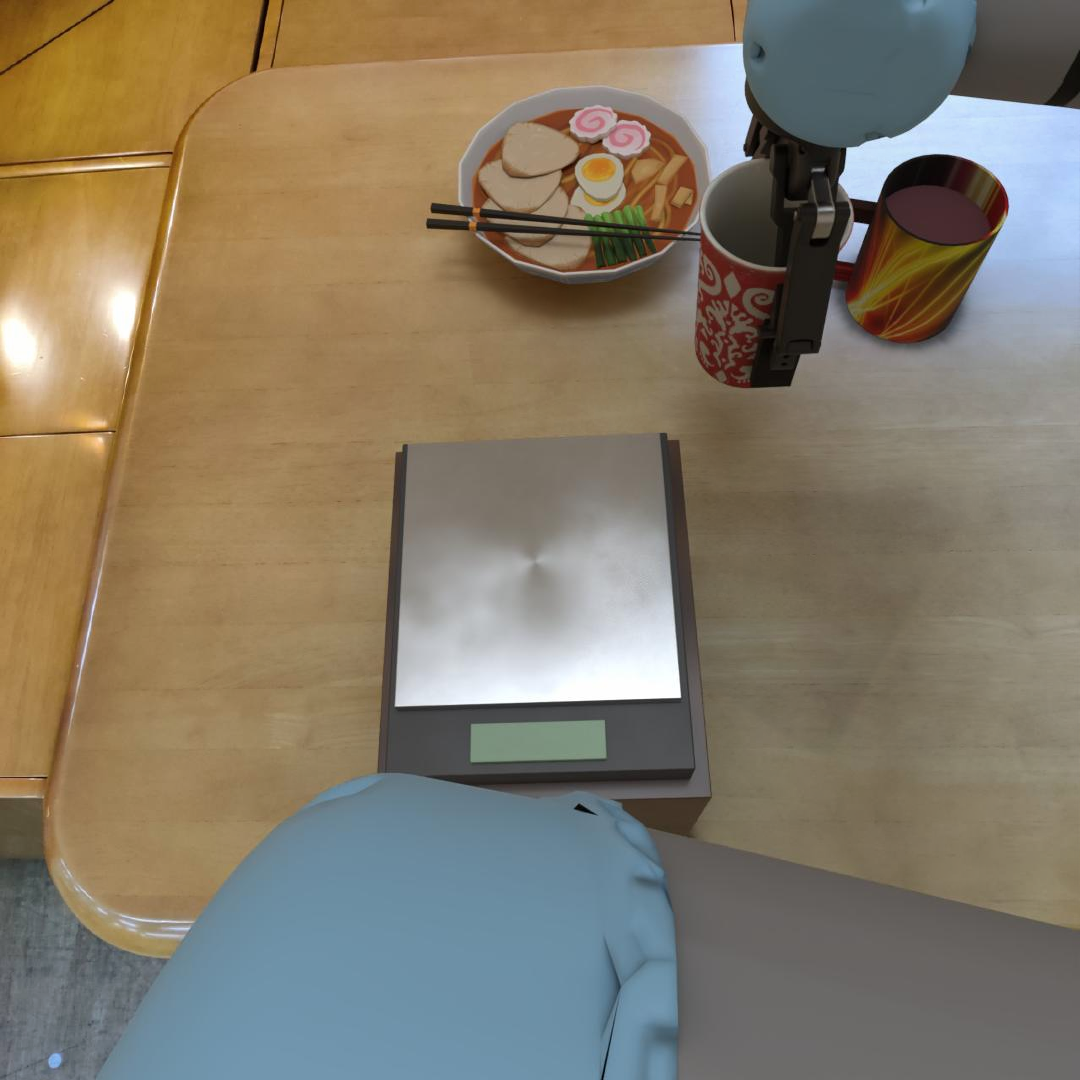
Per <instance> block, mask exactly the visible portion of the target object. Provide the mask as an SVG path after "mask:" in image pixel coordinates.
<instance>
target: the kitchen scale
mask: <svg viewBox="0 0 1080 1080" xmlns="http://www.w3.org/2000/svg"><path fill="white" fill-rule="evenodd" d="M668 440H669V439H668V433H667V432H645V433H624V434H623V433H622V434H621V433H620V434H600V435H577V436H556V437H555V436H554V437H537V438H536V437H534V438H533V437H532V438H512V439H511V438H509V439H490V440H489V439H487V440H467V441H442V442H422V443H421V442H420V443H403V444H402V449H401V452H402V466H401V484H400V503H399V521H398V540H397V558H396V577H395V595H394V614H393V633H392V651H391V670H390V688H389V707H388V725H387V744H386V762H385V773H403V774H411V775H417V776H423V777H428V778H433V779H438V780H443V781H448V782H453V783H458V784H464V785H475V784H512V783H550V782H587V781H624V780H661V779H690V778H691V777H692V775H693V773H694V771H695V768H696V766H695V754H694V743H693V731H692V719H691V707H690V696H689V684H688V672H687V660H686V649H685V637H684V625H683V614H682V602H681V590H680V578H679V567H678V555H677V543H676V531H675V520H674V508H673V496H672V485H671V473H670V461H669V449H668Z"/></svg>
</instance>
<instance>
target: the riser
mask: <svg viewBox="0 0 1080 1080" xmlns="http://www.w3.org/2000/svg"><path fill="white" fill-rule="evenodd" d="M668 449H669V461H670V473H671V485H672V496H673V508H674V520H675V531H676V543H677V555H678V567H679V578H680V590H681V602H682V614H683V625H684V637H685V649H686V660H687V672H688V684H689V696H690V707H691V719H692V731H693V743H694V754H695V766H696V768H695V771H694V773H693V775H692V777H691V778H690V779H661V780H624V781H587V782H550V783H512V784H475V785H469V786H474V787H479V788H484V789H489V790H494V791H499V792H505V793H510V794H515V795H520V796H525V797H530V798H535V799H539V798H542V797H559V796H564V795H567V794H569V793H572V792H575V791H584V792H588V793H591V794H594V795H597V796H601V797H604V798H607V799H610V800H614V801H617V802H620V803H622V809H623V810H624V811H625V812H627V813H628V814H630V815H631V816H632V817H634V818H635V819H637V820H638V821H640V822H641V823H642V824H644V826H645V827H647V828H651V829H655V830H659V831H664V832H668V833H672V834H676V835H680V836H685V837H688V836H689V834H690V832H691V831H692V829H693V827H694V826H695V824H696V822H697V821H698V820H699V818H700V816H701V815H702V813H703V812H704V810H705V809H706V807H707V805H708V804H709V802H710V801H711V799H712V798H713V793H712V783H711V771H710V762H709V751H708V740H707V739H708V737H707V729H706V718H705V717H706V716H705V706H704V696H703V686H702V684H703V683H702V675H701V672H702V671H701V663H700V651H699V643H698V642H699V641H698V630H697V617H696V609H695V608H696V607H695V598H694V597H695V596H694V585H693V576H692V563H691V553H690V544H689V543H690V542H689V531H688V521H687V509H686V500H685V488H684V476H683V465H682V464H683V463H682V455H681V454H682V453H681V444H680V439H668ZM394 457H395V458H394V471H393V472H394V473H393V491H392V506H391V507H392V509H391V524H390V525H391V527H390V545H389V562H388V578H387V579H388V580H387V594H386V613H385V629H384V632H385V633H384V648H383V650H384V651H383V664H382V681H381V682H382V683H381V700H380V701H381V702H380V716H379V717H380V719H379V735H378V736H379V737H378V751H377V770H376V774H378V773H385V762H386V744H387V725H388V707H389V688H390V670H391V651H392V633H393V614H394V595H395V577H396V558H397V540H398V521H399V503H400V484H401V466H402V451H395V456H394Z"/></svg>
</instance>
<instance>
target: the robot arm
mask: <svg viewBox="0 0 1080 1080" xmlns="http://www.w3.org/2000/svg"><path fill="white" fill-rule="evenodd" d="M742 61H743V62H742V63H743V68H744V72H745V81H744V97H745V101H746V104H747V107H748V109H749V111H750V112H751V114H752V116H751V120H750V123H749V126H748V129H747V133H746V136H745V140H744V143H743V145H742V151H743V152H744V157H745V158H751V159H750V160H754V159H759V158H770V163H769V170H770V172H771V174H772V176H773V182H772V195H771V208H770V217H771V218H772V220H773V221H774V223H775V224H776V225H777V226H778V229H777V241H776V253H775V265H774V267H786V273H785V280H784V283H781V284H777V287H776V290H775V293H774V297H773V301H772V304H771V313H770V319H764V323H763V325H757V334H758V338H759V343H758V347H757V351H756V355H755V359H754V363H753V367H752V371H751V375H750V379H749V380H750V388H749V389H764V388H765V389H766V388H767V389H768V388H790V387H792V383H793V379H794V376H795V374H796V370H797V368H798V364H799V361H800V358H801V355H813V354H814V355H817V354H819V353H820V350H821V347H822V339H823V336H824V335H823V334H824V330H825V325H826V320H827V314H828V309H829V304H830V299H831V294H832V288H833V284H834V280H833V279H834V274H835V269H836V263H837V260H838V258H839V254H840V252H839V248H840V243H841V240H842V238H843V235H844V232H845V229H846V226H847V224H848V220H849V218H850V215H851V209H850V204H849V202H848V201H836V200H837V191H838V183H839V181H840V177H841V176H842V175H843V173H844V172H845V168H846V160H847V151H848V150H847V149H849V148H859V147H860V146H863V144H865V143H868V142H871V141H876V140H879V139H883V138H888V139H893V138H896V137H898V136H902V135H903V134H905V133H908V132H910V131H911V130H913V129H914V128H916V127H918V126H919V125H920V124H922V123H923V122H925V121H926V120H927V119H928V118H930V116H932V114H934V113H935V112H936V110H938V108H939V107H941V106H942V104H943V103H944V102H945V101H946V100H947V98H948V97H949V96H956V97H963V98H964V97H965V98H973V99H983V100H991V101H1000V102H1007V103H1008V102H1009V103H1018V104H1027V105H1037V106H1047V107H1048V106H1049V107H1058V108H1065V109H1074V110H1080V0H747V3H746V10H745V17H744V23H743V31H742ZM785 198H786V199H787V200H789V201H806V200H808V203H801V204H800V205H799V207H790V208H784V199H785ZM838 253H839V254H838ZM144 995H145V996H144V997H143V999H142V1000H141V1002H140V1004H139V1005H138V1007H137V1009H136V1010H135V1012H134V1014H133V1016H132V1017H131V1018H130V1020H129V1022H128V1023H127V1025H126V1027H125V1029H124V1030H123V1032H122V1034H121V1036H120V1037H119V1039H118V1041H117V1042H116V1044H115V1045H114V1047H113V1048H112V1050H111V1052H110V1053H109V1055H108V1057H107V1059H106V1060H105V1062H104V1064H103V1065H102V1067H101V1068H100V1070H99V1071H98V1073H97V1076H95V1079H94V1080H1080V930H1079V929H1075V928H1071V927H1066V926H1062V925H1058V924H1053V923H1050V922H1045V921H1041V920H1037V919H1033V918H1028V917H1024V916H1021V915H1016V914H1012V913H1008V912H1003V911H999V910H995V909H990V908H985V907H984V906H983V907H982V906H979V905H974V904H969V903H966V902H961V901H957V900H953V899H949V898H944V897H940V896H936V895H932V894H928V893H923V892H919V891H915V890H911V889H906V888H903V887H898V886H894V885H890V884H886V883H882V882H878V881H873V880H869V879H864V878H861V877H857V876H852V875H848V874H844V873H840V872H835V871H832V870H831V871H830V870H827V869H823V868H819V867H814V866H810V865H806V864H802V863H799V862H793V861H789V860H785V859H781V858H776V857H773V856H772V857H771V856H767V855H764V854H759V853H755V852H750V851H748V850H743V849H739V848H735V847H730V846H726V845H722V844H718V843H713V842H709V841H706V840H700V839H697V838H693V837H688V836H687V837H685V836H680V835H676V834H672V833H668V832H664V831H659V830H655V829H651V828H647V827H645V826H644V824H642V823H641V822H640V821H638V820H637V819H635V818H634V817H632V816H631V815H630V814H628V813H627V812H625V811H624V810H623V809H622V803H620V802H617V801H614V800H610V799H607V798H604V797H601V796H597V795H594V794H591V793H588V792H584V791H575V792H572V793H569V794H567V795H564V796H559V797H542V798H539V799H535V798H530V797H525V796H520V795H515V794H510V793H505V792H499V791H494V790H489V789H484V788H479V787H474V786H469V785H464V784H458V783H453V782H448V781H443V780H438V779H433V778H428V777H423V776H417V775H411V774H403V773H378V774H377V773H372V774H371V773H370V774H366V775H363V776H359V777H355V778H351V779H349V780H347V781H344V782H342V783H338V784H336V785H334V786H330V787H329V788H327V789H325V790H324V791H322V792H320V793H318V794H317V796H316V797H314V798H313V799H312V800H311V801H309V802H308V803H306V804H305V805H303V806H301V807H300V808H299V809H297V810H296V811H295V812H294V813H293V814H292V815H290V816H288V817H287V818H286V819H283V820H282V821H281V822H280V823H278V824H277V825H276V826H275V827H274V828H273V829H272V830H271V831H270V832H269V833H268V834H267V835H266V836H265V837H264V838H262V840H261V841H260V842H259V843H258V844H257V845H256V846H254V848H253V849H251V851H250V852H249V853H248V854H246V856H245V857H244V858H243V859H242V860H241V861H240V862H239V863H238V865H237V866H236V867H235V868H234V870H233V871H232V872H231V873H230V874H229V876H228V877H227V878H226V879H225V881H224V882H223V883H222V885H221V886H220V887H219V888H218V889H217V891H216V892H215V894H214V895H213V896H212V897H211V899H210V901H209V902H207V905H206V906H205V907H204V909H203V910H202V911H201V913H200V914H199V915H198V917H197V918H196V920H195V921H194V922H193V924H192V925H191V926H190V928H189V929H188V931H187V932H186V934H185V935H184V936H183V938H182V939H181V941H180V942H179V944H178V945H177V947H176V948H175V950H174V951H173V952H172V954H171V955H170V957H169V959H168V960H167V962H166V963H165V964H164V966H163V968H162V969H161V970H160V972H159V973H158V975H157V976H156V978H155V979H154V981H153V982H152V984H151V986H150V987H149V989H148V990H147V992H146V993H145V994H144Z"/></svg>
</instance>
